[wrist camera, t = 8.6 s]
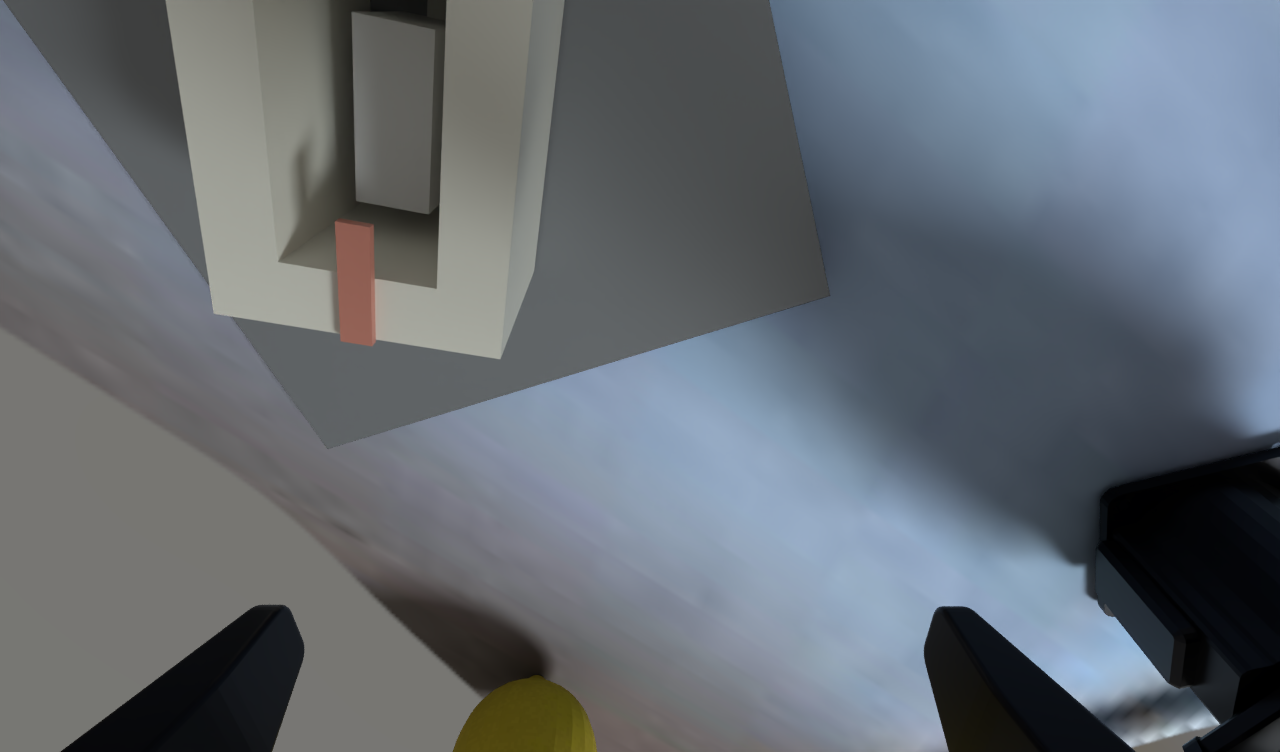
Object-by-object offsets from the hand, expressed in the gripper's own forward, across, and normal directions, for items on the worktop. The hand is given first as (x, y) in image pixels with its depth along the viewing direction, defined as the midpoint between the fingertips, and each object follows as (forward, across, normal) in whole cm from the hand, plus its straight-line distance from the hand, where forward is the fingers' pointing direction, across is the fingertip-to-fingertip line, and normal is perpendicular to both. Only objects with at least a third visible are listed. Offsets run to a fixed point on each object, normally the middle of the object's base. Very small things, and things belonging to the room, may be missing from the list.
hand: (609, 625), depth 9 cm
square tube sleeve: (+10, +4, -6) cm, 13 cm away
